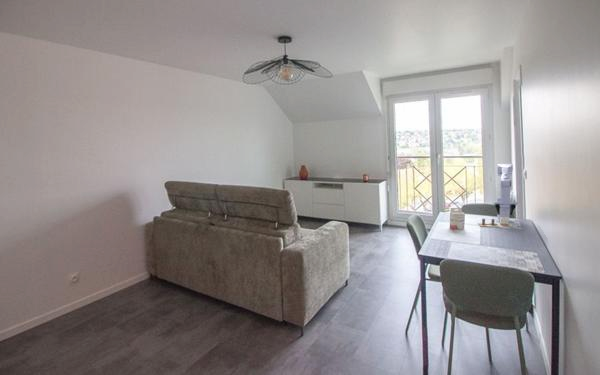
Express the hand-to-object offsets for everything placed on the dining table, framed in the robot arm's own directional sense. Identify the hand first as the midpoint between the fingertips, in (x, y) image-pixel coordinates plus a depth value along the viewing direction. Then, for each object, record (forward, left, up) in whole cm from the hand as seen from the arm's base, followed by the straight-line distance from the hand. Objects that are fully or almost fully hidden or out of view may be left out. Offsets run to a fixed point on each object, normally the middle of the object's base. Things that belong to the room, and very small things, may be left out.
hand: (504, 214), depth 235 cm
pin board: (+3, -11, -8) cm, 14 cm away
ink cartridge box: (+15, -33, -8) cm, 37 cm away
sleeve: (0, 0, -7) cm, 7 cm away
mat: (-1, 0, -8) cm, 8 cm away
